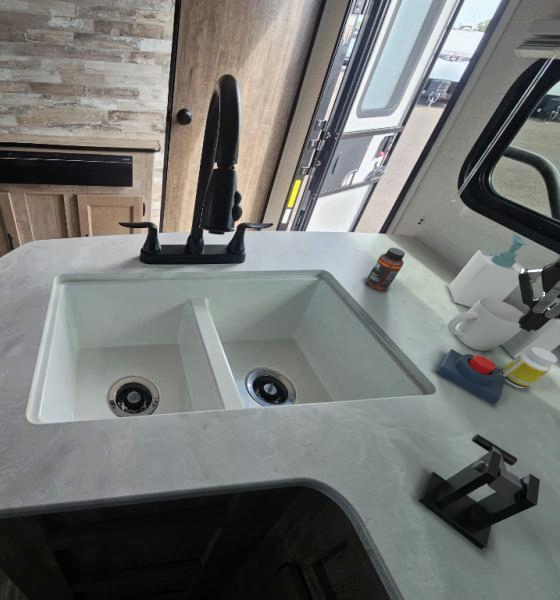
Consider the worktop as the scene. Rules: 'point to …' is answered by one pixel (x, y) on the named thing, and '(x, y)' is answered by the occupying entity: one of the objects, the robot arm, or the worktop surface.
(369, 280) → the supplement bottle
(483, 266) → the soap bottle
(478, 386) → the button housing
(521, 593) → the worktop surface
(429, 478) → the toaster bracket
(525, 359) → the supplement bottle
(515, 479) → the lever
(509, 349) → the cosmetic box
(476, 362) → the button
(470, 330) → the mug
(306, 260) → the worktop surface
